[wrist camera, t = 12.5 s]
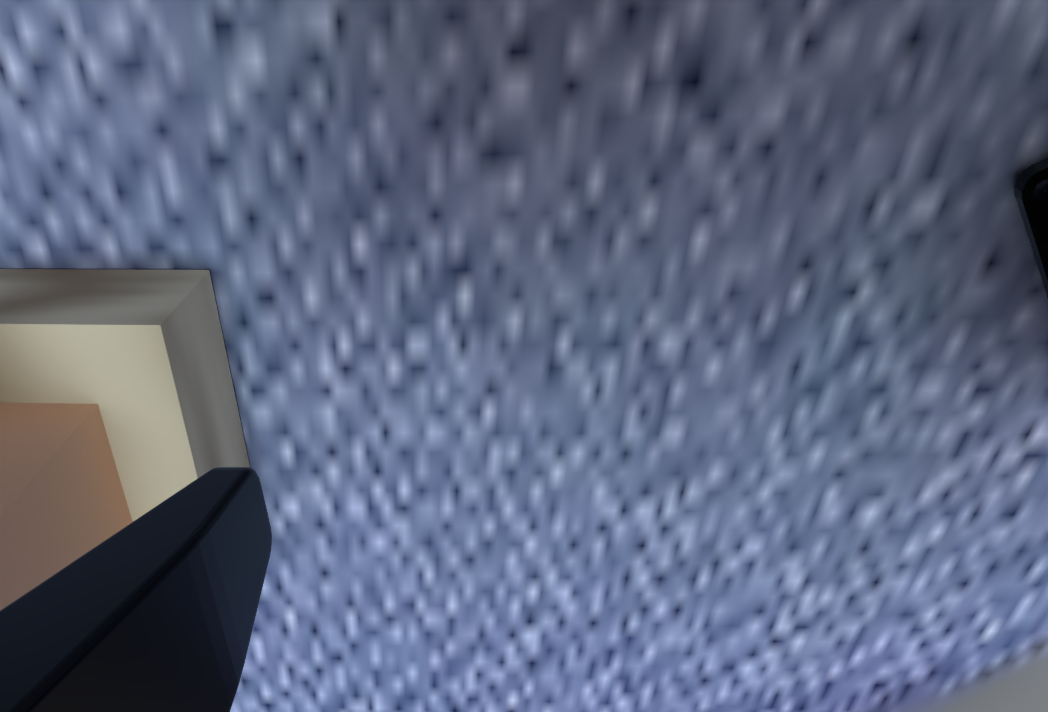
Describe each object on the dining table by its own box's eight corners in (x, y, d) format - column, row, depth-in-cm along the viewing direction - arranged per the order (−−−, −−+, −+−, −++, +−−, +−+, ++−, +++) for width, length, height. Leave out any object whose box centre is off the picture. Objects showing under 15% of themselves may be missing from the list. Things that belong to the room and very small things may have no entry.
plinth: (208, 269, 23) (160, 325, 20) (266, 547, 27) (232, 622, 25) (-135, 268, 23) (-227, 322, 21) (-24, 540, 28) (-88, 612, 25)
